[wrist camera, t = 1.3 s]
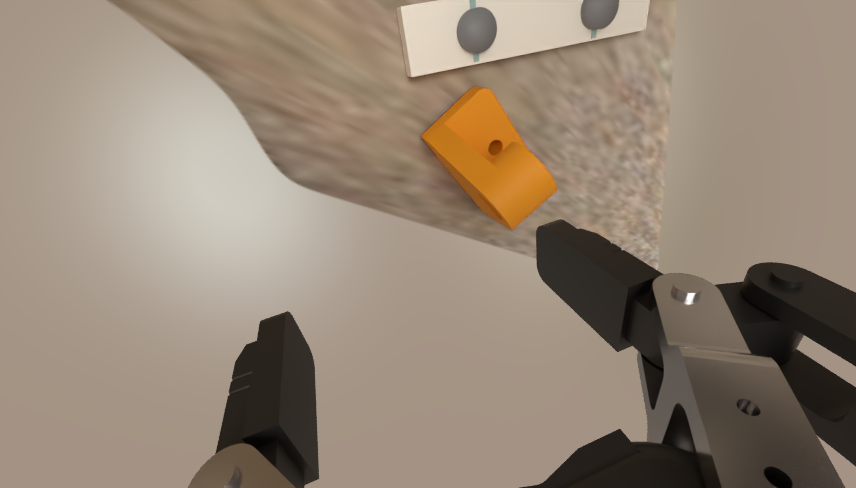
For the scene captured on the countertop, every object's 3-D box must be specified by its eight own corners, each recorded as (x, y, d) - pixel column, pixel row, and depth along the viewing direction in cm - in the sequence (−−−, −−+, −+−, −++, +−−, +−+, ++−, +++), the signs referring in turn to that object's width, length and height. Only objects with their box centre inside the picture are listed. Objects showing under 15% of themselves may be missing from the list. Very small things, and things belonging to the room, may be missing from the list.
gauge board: (396, 8, 28) (403, 5, 26) (641, -32, 32) (665, -38, 30) (407, 76, 30) (415, 78, 28) (633, 30, 35) (654, 29, 33)
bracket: (525, 161, 38) (603, 200, 28) (476, 205, 39) (535, 258, 29) (474, 80, 33) (550, 94, 23) (418, 134, 33) (467, 170, 23)
